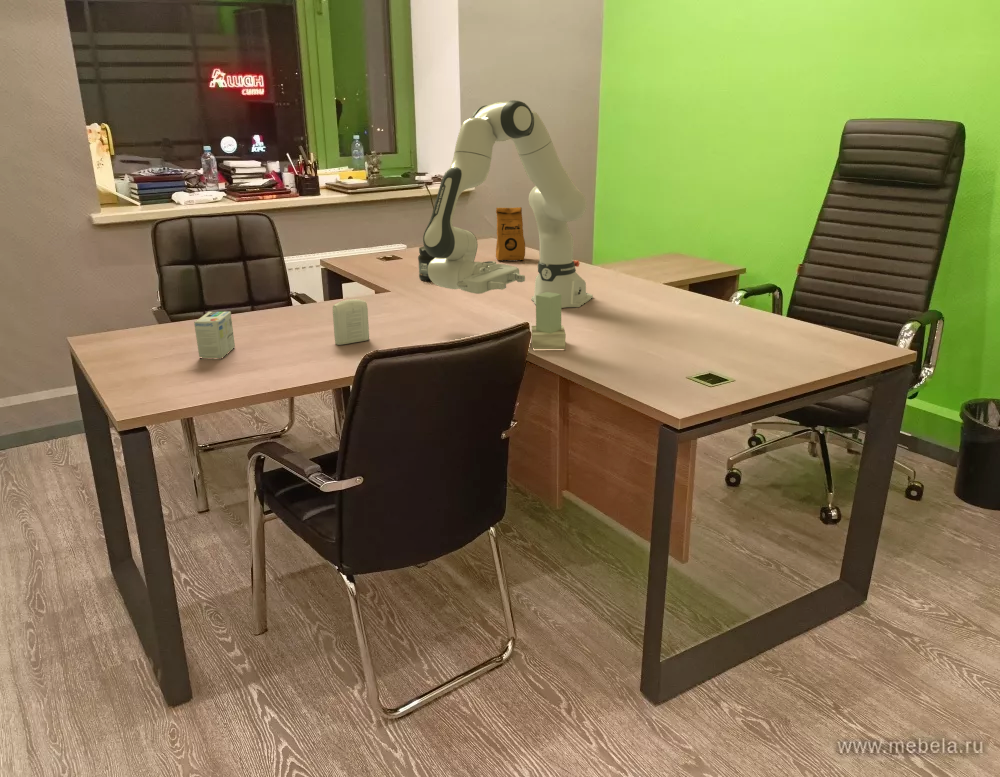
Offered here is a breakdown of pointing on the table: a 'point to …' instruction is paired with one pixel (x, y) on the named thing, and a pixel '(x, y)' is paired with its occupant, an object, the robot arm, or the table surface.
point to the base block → (548, 339)
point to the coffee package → (510, 234)
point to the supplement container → (424, 264)
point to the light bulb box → (214, 334)
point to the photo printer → (350, 321)
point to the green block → (548, 312)
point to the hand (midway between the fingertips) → (514, 282)
